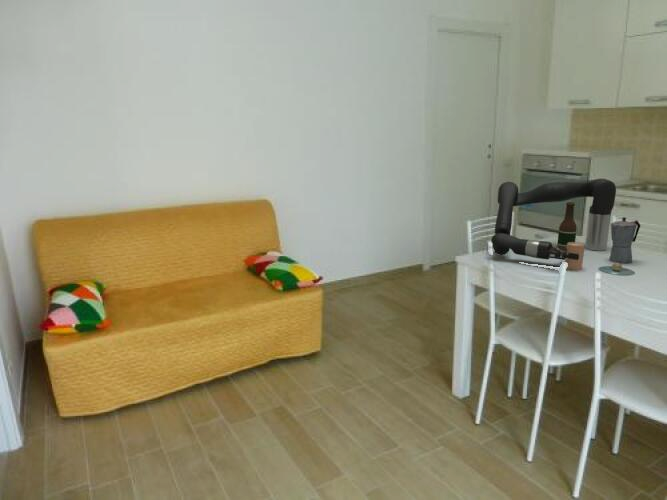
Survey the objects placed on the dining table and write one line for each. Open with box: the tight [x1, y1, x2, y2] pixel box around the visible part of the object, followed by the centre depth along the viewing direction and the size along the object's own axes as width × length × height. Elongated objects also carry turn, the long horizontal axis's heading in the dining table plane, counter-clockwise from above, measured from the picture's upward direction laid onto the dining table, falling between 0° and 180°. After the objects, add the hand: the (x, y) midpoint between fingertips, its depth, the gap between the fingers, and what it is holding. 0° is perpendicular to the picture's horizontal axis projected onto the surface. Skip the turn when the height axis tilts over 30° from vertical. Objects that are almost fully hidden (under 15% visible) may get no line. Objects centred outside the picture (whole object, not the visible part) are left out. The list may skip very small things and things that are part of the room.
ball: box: [611, 262, 623, 271], centre depth 199 cm, size 3×3×3 cm
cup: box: [564, 241, 585, 271], centre depth 203 cm, size 6×6×11 cm
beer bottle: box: [556, 201, 578, 247], centre depth 225 cm, size 8×8×24 cm
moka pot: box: [608, 216, 641, 265], centre depth 211 cm, size 10×15×20 cm, turn 111°
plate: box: [598, 265, 636, 277], centre depth 200 cm, size 13×13×1 cm
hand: (580, 255), depth 201 cm, fingers closed on cup, 6 cm apart
